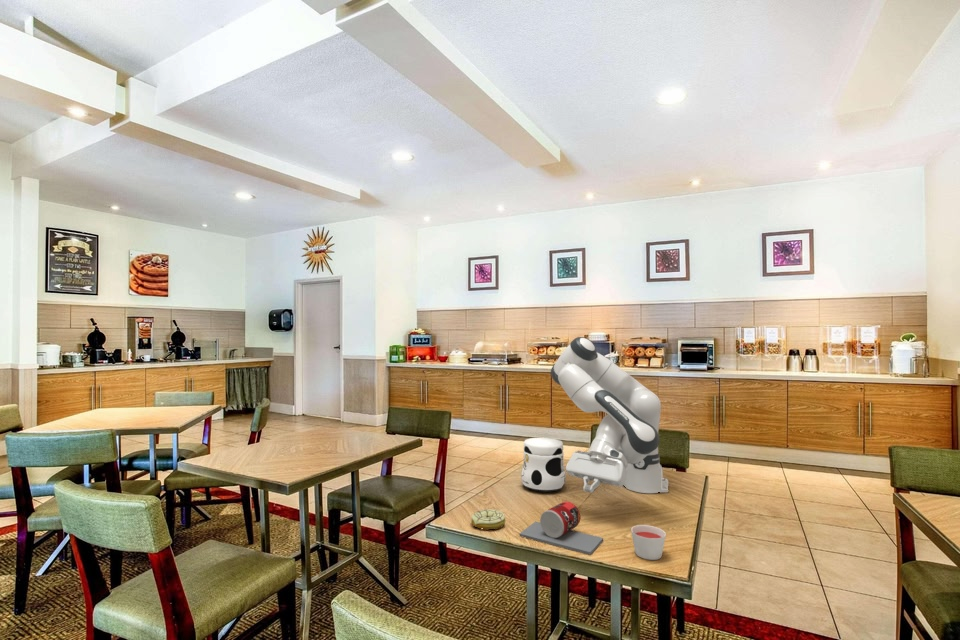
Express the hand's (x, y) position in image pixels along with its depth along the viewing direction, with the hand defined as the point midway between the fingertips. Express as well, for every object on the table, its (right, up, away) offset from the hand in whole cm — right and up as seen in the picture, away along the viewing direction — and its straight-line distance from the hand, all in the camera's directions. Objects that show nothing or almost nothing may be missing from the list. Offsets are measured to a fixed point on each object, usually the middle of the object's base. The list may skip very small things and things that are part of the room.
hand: (587, 491), depth 155 cm
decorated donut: (-32, -10, -3) cm, 34 cm away
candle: (+12, -10, -23) cm, 27 cm away
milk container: (-10, -11, +33) cm, 36 cm away
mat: (-11, -9, -13) cm, 19 cm away
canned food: (-7, -5, -6) cm, 10 cm away
